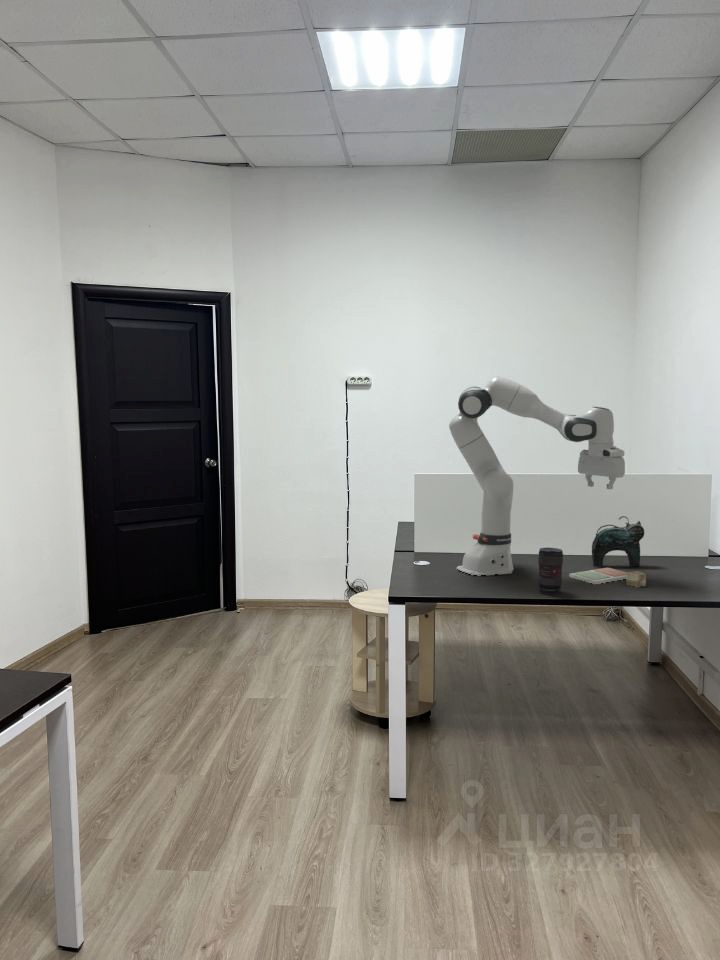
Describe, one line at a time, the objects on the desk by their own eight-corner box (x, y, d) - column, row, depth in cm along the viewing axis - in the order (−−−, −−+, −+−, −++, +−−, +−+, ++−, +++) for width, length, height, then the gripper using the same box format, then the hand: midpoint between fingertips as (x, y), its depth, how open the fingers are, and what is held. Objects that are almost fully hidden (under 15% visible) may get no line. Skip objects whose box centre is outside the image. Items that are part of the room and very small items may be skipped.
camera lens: (565, 594, 247) (566, 551, 245) (542, 595, 246) (543, 552, 244) (557, 588, 255) (558, 546, 253) (534, 589, 254) (535, 547, 252)
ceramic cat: (639, 564, 291) (641, 515, 288) (645, 568, 284) (647, 517, 282) (589, 564, 291) (591, 515, 289) (594, 568, 285) (596, 517, 282)
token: (636, 587, 256) (637, 575, 255) (626, 585, 260) (626, 572, 259) (645, 586, 258) (646, 573, 257) (635, 583, 262) (635, 571, 261)
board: (595, 584, 260) (595, 580, 259) (569, 576, 271) (569, 572, 271) (634, 578, 269) (635, 573, 269) (607, 570, 280) (608, 566, 280)
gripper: (574, 449, 277) (573, 485, 279) (615, 452, 259) (614, 491, 261) (586, 448, 280) (585, 484, 282) (628, 451, 262) (627, 489, 264)
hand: (600, 487), depth 271 cm, fingers open, 8 cm apart
